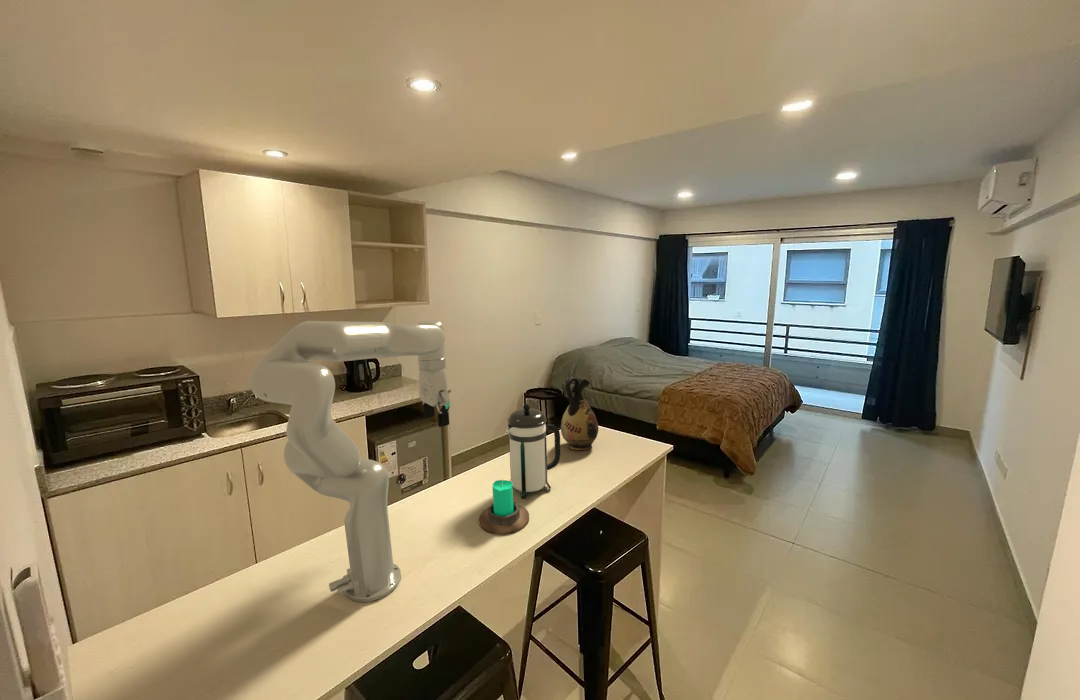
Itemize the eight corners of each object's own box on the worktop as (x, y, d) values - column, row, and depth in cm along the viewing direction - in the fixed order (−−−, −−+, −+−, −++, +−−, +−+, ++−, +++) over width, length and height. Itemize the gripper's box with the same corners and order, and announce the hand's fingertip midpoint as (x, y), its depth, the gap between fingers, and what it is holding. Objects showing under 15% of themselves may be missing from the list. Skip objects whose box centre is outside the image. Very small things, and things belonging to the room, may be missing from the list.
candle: (489, 517, 129) (487, 480, 127) (504, 508, 134) (502, 472, 132) (503, 525, 126) (502, 486, 123) (518, 515, 130) (516, 478, 128)
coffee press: (546, 503, 138) (544, 413, 132) (500, 496, 143) (496, 409, 137) (561, 478, 154) (560, 397, 148) (519, 472, 159) (516, 393, 154)
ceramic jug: (579, 435, 192) (578, 369, 186) (605, 446, 180) (606, 376, 174) (550, 446, 181) (549, 377, 175) (576, 458, 169) (576, 384, 164)
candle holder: (496, 541, 120) (495, 530, 119) (469, 517, 131) (469, 507, 131) (539, 521, 129) (539, 510, 128) (510, 500, 140) (510, 490, 140)
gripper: (407, 361, 128) (412, 416, 132) (432, 371, 115) (437, 432, 118) (431, 357, 133) (435, 411, 136) (458, 367, 120) (462, 426, 123)
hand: (436, 421), depth 127 cm, fingers open, 9 cm apart
